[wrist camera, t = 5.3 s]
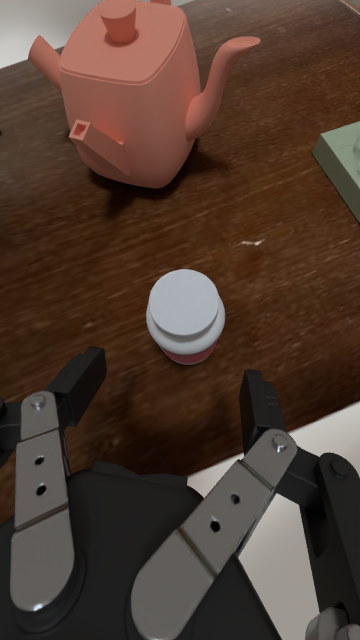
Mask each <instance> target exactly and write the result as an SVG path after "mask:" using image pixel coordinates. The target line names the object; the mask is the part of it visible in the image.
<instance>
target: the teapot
mask: <svg viewBox="0 0 360 640" xmlns="http://www.w3.org/2000/svg"><path fill="white" fill-rule="evenodd" d="M259 43H260V39H259V38H257V37H250V36H248V37H238V38H234V39H231V40H229V41H227V42H226V43H224V44H223V45H222V46H221V48H220V49H219V50H218V52H217V53H216V55H215V57H214V60H213V63H212V66H211V70H210V73H209V78H208V82H207V85H206V88H205V90H204V91H203V92H202V93H201V88H200V78H199V71H198V65H197V60H196V55H195V50H194V46H193V41H192V37H191V33H190V29H189V25H188V21H187V18H186V15H185V13H184V12H183V11H182V9H181V8H178V7H174V6H171V0H150V2H143V1H135V0H104V1H103V2H101V3H99V4H98V5H97V6H96V7H94V8H93V9H92V10H91V11H90V12H89V13H88V14H87V15H86V16H85V17H84V19H83V20H82V21H81V22H80V23H79V25H78V26H77V27H76V28H75V30H74V31H73V33H72V34H71V36H70V38H69V40H68V41H67V43H66V45H65V47H64V49H63V52H62V54H61V56H60V55H59V54H58V53H57V52H56V51H55V50H54V49H53V48H52V47H51V46H50V45H49V44H48V43H47V42H46V41H45V40H44V39H43V38H42V37H41V36H40V35H39V36H38V37H37V38H36V39H35V41H34V43H33V44H32V47H31V49H30V52H29V56H28V60H29V61H30V62H31V63H32V64H33V65H34V66H35V67H36V68H37V69H38V70H39V71H40V72H41V73H42V74H43V75H44V76H45V77H46V78H48V79H49V80H50V81H51V82H52V83H53V84H54V85H55V86H56V87H57V88H58V89H59V90H60V91H61V92H62V93H63V99H64V104H65V109H66V114H67V119H68V123H69V127H70V130H71V132H70V135H69V138H70V140H71V141H72V142H73V143H74V144H75V145H76V147H77V150H78V152H79V154H80V156H81V158H82V160H83V161H84V162H85V164H86V165H87V166H88V167H89V168H91V169H92V170H93V171H94V172H96V173H97V174H99V175H101V176H103V177H106V178H109V179H112V180H116V181H119V182H123V183H127V184H132V185H136V186H142V187H148V188H162V187H164V186H166V185H167V184H169V183H170V182H171V181H172V179H173V178H174V177H175V176H176V174H177V173H178V172H179V170H180V169H181V167H182V165H183V164H184V162H185V160H186V159H187V157H188V155H189V153H190V151H191V148H192V146H193V144H194V141H195V139H196V138H198V137H200V136H201V135H202V134H204V133H205V132H206V131H207V130H208V129H209V127H210V126H211V124H212V123H213V121H214V119H215V116H216V114H217V112H218V108H219V105H220V102H221V98H222V94H223V90H224V86H225V83H226V80H227V77H228V74H229V72H230V70H231V68H232V67H233V65H234V64H235V62H236V61H237V60H238V59H239V58H240V57H241V56H242V55H243V54H245V53H246V52H247V51H249V50H250V49H252V48H253V47H255V46H256V45H258V44H259Z"/></svg>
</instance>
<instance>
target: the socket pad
mask: <svg viewBox="0 0 360 640" xmlns="http://www.w3.org/2000/svg"><path fill="white" fill-rule="evenodd" d="M312 154H313V156H314V157H315V158H316V160H317V161H318V163H319V164H320V166H321V167H322V169H323V170H324V172H325V173H326V175H327V176H328V177H329V179H330V180H331V182H332V183H333V185H334V186H335V188H336V189H337V191H338V192H339V194H340V195H341V197H342V198H343V200H344V201H345V203H346V204H347V205H348V207H349V208H350V210H351V211H352V213H353V214H354V216H355V217H356V219H357V220H358V222H359V223H360V121H359V122H356V123H353V124H350V125H347V126H344V127H341V128H338V129H335V130H332V131H329V132H326V133H323V134H321V135H320V137H319V139H318V141H317V143H316V145H315V147H314V149H313V151H312Z"/></svg>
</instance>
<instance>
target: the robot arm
mask: <svg viewBox="0 0 360 640" xmlns="http://www.w3.org/2000/svg"><path fill="white" fill-rule="evenodd" d="M106 372H107V367H106V358H105V350H104V348H99V347H92V346H90V347H89V348H88V349H87V350H86V351H85V353H84V354H78V355H77V356H75V357H73V358H72V359H71V360H70V361H69V362H68V363H67V364H66V366H65V367H64V368H63V369H62V370H61V372H59V374H58V375H57V376H56V377H55V378H54V379H53V381H52V382H51V383H50V384H49V385H48V386H47V388H46V389H45V390H44V391H39V392H36V393H33V394H31V395H29V396H28V397H27V398H26V399H25V400H24V401H20V402H10V403H4V400H3V398H2V397H1V396H0V469H1V467H2V466H3V465H4V463H5V462H6V460H7V459H8V458H9V456H10V455H11V453H12V452H13V451H14V449H16V448H17V449H16V494H15V515H13V516H12V517H11V518H9V519H8V520H7V521H5V522H4V523H2V524H1V525H0V640H282V639H281V637H280V635H279V633H278V631H277V630H276V628H275V626H274V624H273V622H272V620H271V619H270V616H269V615H268V613H267V611H266V609H265V607H264V605H263V603H262V602H261V600H260V598H259V596H258V594H257V592H256V590H255V589H254V587H253V585H252V583H251V581H250V579H249V577H248V576H247V574H246V572H245V570H244V568H243V566H242V564H241V562H240V561H239V559H238V557H239V555H240V553H241V552H242V550H243V548H244V547H245V545H246V544H247V542H248V540H249V538H250V537H251V535H252V533H253V531H254V529H255V527H256V526H257V524H258V523H259V521H260V519H261V518H262V516H263V514H264V513H265V511H266V510H267V508H268V506H269V505H270V503H271V501H272V500H273V498H274V496H275V495H276V493H278V494H280V495H282V496H284V497H285V498H287V499H289V500H291V501H293V502H295V503H297V504H298V505H299V507H300V513H301V518H302V523H303V528H304V534H305V539H306V544H307V549H308V554H309V559H310V565H311V570H312V575H313V580H314V586H315V591H316V596H317V601H318V606H319V612H320V614H319V615H318V616H316V617H315V618H314V619H313V620H311V622H310V623H309V624H308V626H307V629H306V637H305V640H360V478H359V475H358V473H357V471H356V470H355V468H354V467H353V466H352V465H351V464H350V463H349V462H348V461H347V460H346V459H344V458H343V457H341V456H339V455H337V454H334V453H324V454H322V455H321V456H320V457H318V456H316V455H314V454H312V453H309V452H307V451H305V450H303V449H301V448H300V447H298V446H297V445H296V443H295V441H294V440H293V438H292V437H291V436H290V435H289V434H288V433H287V431H286V427H285V423H284V420H283V416H282V412H281V409H280V406H279V401H278V398H277V394H276V390H275V389H274V387H273V386H272V385H271V383H270V382H266V381H263V380H262V376H261V372H260V371H257V370H250V369H246V370H245V373H244V377H243V381H242V385H241V389H240V395H239V403H240V414H241V426H242V437H243V448H244V458H243V459H242V460H239V459H238V460H237V461H236V462H235V463H234V464H233V465H232V466H231V467H230V469H229V470H228V471H227V472H226V473H225V474H224V476H223V477H222V478H221V479H220V480H219V482H218V483H217V484H216V485H215V486H214V488H213V489H212V490H211V491H210V492H209V493H208V495H207V496H206V497H205V498H203V496H202V495H200V494H199V493H198V492H197V491H196V490H194V489H193V488H191V487H189V486H187V479H188V477H182V476H177V475H172V474H167V473H160V474H148V475H138V474H136V473H134V472H132V471H130V470H128V469H126V468H124V467H122V466H120V465H118V464H114V463H108V462H103V461H98V460H95V463H94V465H93V467H92V468H87V469H83V470H80V471H77V472H75V473H73V474H71V470H70V465H69V459H68V453H67V446H66V440H65V434H64V430H65V429H66V427H67V426H72V427H76V426H77V424H78V422H79V421H80V419H81V417H82V416H83V414H84V412H85V411H86V409H87V407H88V406H89V404H90V402H91V401H92V399H93V397H94V396H95V394H96V392H97V391H98V389H99V387H100V386H101V384H102V382H103V381H104V379H105V376H106Z"/></svg>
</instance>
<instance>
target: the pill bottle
mask: <svg viewBox="0 0 360 640" xmlns="http://www.w3.org/2000/svg"><path fill="white" fill-rule="evenodd" d="M146 321H147V326H148V329H149V331H150V333H151V336H152V337H153V339H154V340H155V341H156V342H157V344H158V345H159V346H160V347H161V349H162V350H163V351H164V353H165V354H166V355H167V356H168V357H169V358H170V359H172V360H173V361H175V362H177V363H180V364H185V365H192V364H196V363H199V362H202V361H203V360H205V359H206V358H207V357H208V356H209V355H210V354H211V353H212V352H213V350H214V348H215V346H216V344H217V341H218V339H219V337H220V334H221V332H222V329H223V326H224V321H225V311H224V306H223V303H222V301H221V299H220V297H219V295H218V292H217V289H216V287H215V286H214V284H213V283H212V281H211V280H210V279H209V278H207V277H206V276H205V275H203V274H201V273H199V272H197V271H193V270H187V269H186V270H184V269H183V270H176V271H173V272H170V273H168V274H166V275H164V276H163V277H161V278H160V279H159V280H158V281H157V282H156V283H155V285H154V286H153V288H152V290H151V293H150V296H149V304H148V307H147V312H146Z"/></svg>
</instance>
